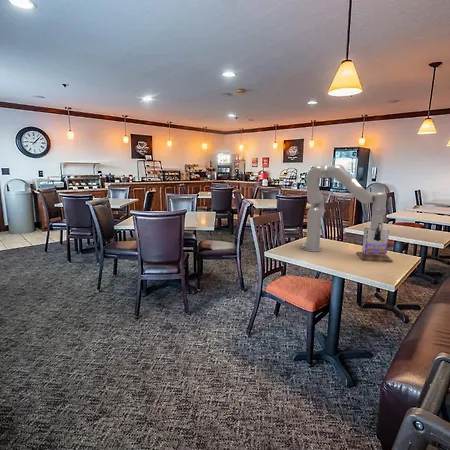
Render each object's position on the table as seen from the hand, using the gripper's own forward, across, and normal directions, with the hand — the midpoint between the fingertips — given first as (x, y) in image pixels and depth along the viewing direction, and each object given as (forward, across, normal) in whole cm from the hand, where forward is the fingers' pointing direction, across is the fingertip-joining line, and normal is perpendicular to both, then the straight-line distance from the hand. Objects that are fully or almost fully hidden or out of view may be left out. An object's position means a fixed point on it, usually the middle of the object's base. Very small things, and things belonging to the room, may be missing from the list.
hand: (375, 238), depth 196 cm
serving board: (+13, 0, 0) cm, 13 cm away
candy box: (+10, 0, 0) cm, 10 cm away
